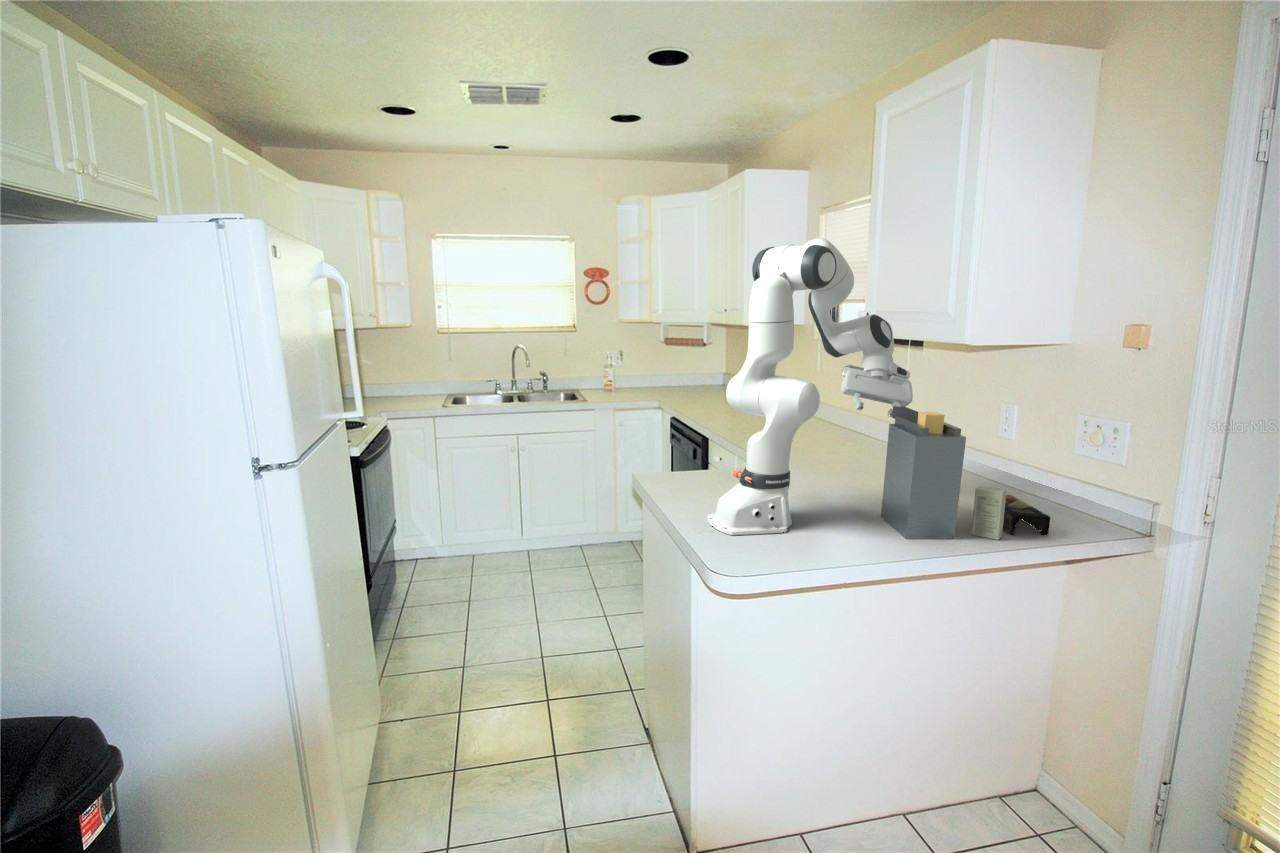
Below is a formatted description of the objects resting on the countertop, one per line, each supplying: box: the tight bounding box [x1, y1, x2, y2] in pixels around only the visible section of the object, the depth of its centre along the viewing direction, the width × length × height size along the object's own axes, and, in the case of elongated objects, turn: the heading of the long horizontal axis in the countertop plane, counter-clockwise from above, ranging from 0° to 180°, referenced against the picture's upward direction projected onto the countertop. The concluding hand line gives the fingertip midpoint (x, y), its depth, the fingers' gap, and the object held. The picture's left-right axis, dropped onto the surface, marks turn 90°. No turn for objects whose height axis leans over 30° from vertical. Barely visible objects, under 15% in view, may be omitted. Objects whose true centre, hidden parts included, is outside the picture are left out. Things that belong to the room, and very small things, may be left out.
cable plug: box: [891, 406, 946, 433], centre depth 160 cm, size 21×5×5 cm, turn 0°
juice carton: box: [1003, 493, 1051, 536], centre depth 163 cm, size 20×10×6 cm, turn 176°
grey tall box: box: [880, 416, 967, 540], centre depth 157 cm, size 16×12×28 cm
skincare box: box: [971, 485, 1007, 541], centre depth 153 cm, size 6×4×12 cm
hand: (875, 412), depth 175 cm, fingers open, 8 cm apart
